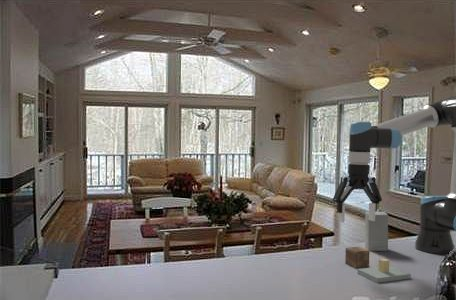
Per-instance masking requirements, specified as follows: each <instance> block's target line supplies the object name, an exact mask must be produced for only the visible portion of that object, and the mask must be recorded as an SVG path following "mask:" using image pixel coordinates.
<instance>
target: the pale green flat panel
mask: <svg viewBox="0 0 456 300" xmlns="http://www.w3.org/2000/svg"><path fill="white" fill-rule="evenodd" d="M356 273H357V274H358V275H359V276H362V277H364V278H366V279H368V280H370V281H373V282H374V283H377V284H378V283H385V282H393V281H400V280H401V281H402V280H408V279H412V276H411V275H412V274H411V273H410V272H407V271H405V270H402V269H400V268H397V267H396V266H395V267H394V266H392V265H390V260H389V259H386V258H379V259H378V266H374V267H373V266H372V267H362V268H357V272H356Z"/></svg>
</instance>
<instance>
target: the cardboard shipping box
mask: <svg viewBox="0 0 456 300" xmlns="http://www.w3.org/2000/svg"><path fill="white" fill-rule="evenodd" d="M344 257H345V259H344V260H345V263H344V264H346V265H347V266H349V267H352V268H354V269H363V268H370V251H369V250H368V249H367V248H364V247H362V246H358V245H357V246H350V247H349V246H347V247H345V256H344Z"/></svg>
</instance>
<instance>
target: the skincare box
mask: <svg viewBox="0 0 456 300" xmlns="http://www.w3.org/2000/svg"><path fill="white" fill-rule="evenodd" d="M364 212H365V214H364V216H365V219H364V220H365V224H364V225H365V226H364V227H365V230H364V232H365V233H364V234H365V235H364V236H365V237H364V238H365V240H364V241H365V242H364V244H365V245H364V247H365V249H367V250H369V252H370V251H371V252H374V251H375V252H388V251H389V214H388V213H386V212H385V211H376V212H375V221H371V220H369V211H364Z"/></svg>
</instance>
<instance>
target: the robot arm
mask: <svg viewBox="0 0 456 300" xmlns="http://www.w3.org/2000/svg"><path fill="white" fill-rule="evenodd" d="M440 126H451V127H450V128H451V130H452V131H453V132H454V143H453V155H452V156H453V157H452V168H451V179H450V181H451V182H450V191H449V193H448V194H447V195H424V196H422V197H421V198H420V205H419V207H420V208H419V209H420V210H419V211H420V212H419V215H420V216H419V219H420V220H419V232H418V234H417V238H416V240H415V243H414V247H415V249H416V250H419V251H421V252H425V253H430V254H436V255H437V254H438V255H448V254H447V253H449V252H450V251H452V250H453V249H456V248H455V244H454V242H453V239H452V234H451V231H454V232H456V96H450V97H445V98H443V99H439V100H438V101H434V102H433V103H430V104H427V105H424V106H423V107H422V109H420V110H417V111H412V112H411V113H407V114H405V115H401V116H398V117H395V118H392V119H389V120H386V121H383V122H381V123H377V124H374V125H372V123H371V121H352V122H351V123H350V126H349V131H348V132H349V134H348V135H349V137H348V138H349V140H348V163H349V164H348V166H347V173H348V177H347V176H341V177H340V182H339V184H338V186H337V189H336V191H335V193H334V196H333V197H332V202H333V203H336V213H338V217H337V221H338V222H340V223H345V220H346V219H345V216H346V215H345V213H346V204H345V202H346V200H347V199H348V197H349V196H350V195H351V193H352V192H353V191H355V190H359V189H360V190H363V191H364V193H365V194H366V196H367V197H368V199H369V201H370V202H369V203H368V212H369V220H371V221H375V212H378V211H377V210H378V204H379V203H380V202H382V201H383V199H382V195H381V193H380V190H379V188H378V185H377V179H376V177H375V176H369V175H370V168H371V166H370V163H371V149H388V150H391V149H397V148H399V147H400V145H401V144H402V143H401V142H402V136H404V135H407V134H410V133H414V132H416V131H419V130H422V129H424V128H425V129H426V128H431V129H433V128H436V127H440Z"/></svg>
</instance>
